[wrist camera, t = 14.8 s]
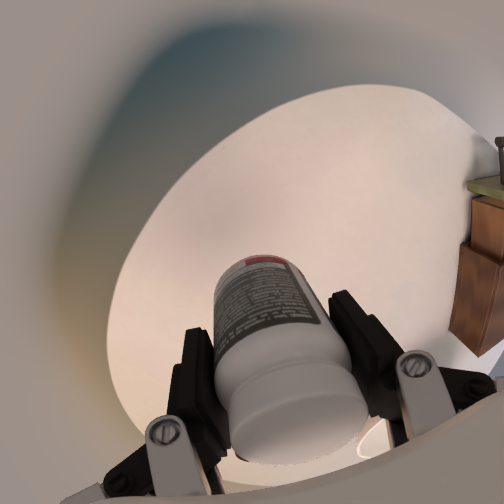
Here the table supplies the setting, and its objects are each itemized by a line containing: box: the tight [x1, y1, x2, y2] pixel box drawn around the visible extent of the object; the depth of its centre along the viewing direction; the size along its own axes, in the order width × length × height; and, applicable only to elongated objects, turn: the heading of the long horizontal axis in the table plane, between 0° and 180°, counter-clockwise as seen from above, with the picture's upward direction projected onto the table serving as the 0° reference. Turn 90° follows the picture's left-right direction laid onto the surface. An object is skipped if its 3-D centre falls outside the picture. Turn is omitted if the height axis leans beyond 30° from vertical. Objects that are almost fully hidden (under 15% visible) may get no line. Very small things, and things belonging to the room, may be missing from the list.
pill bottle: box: [214, 255, 368, 466], centre depth 10 cm, size 5×5×8 cm
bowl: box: [356, 415, 390, 458], centre depth 38 cm, size 20×20×7 cm
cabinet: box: [449, 240, 504, 358], centre depth 31 cm, size 16×15×9 cm
